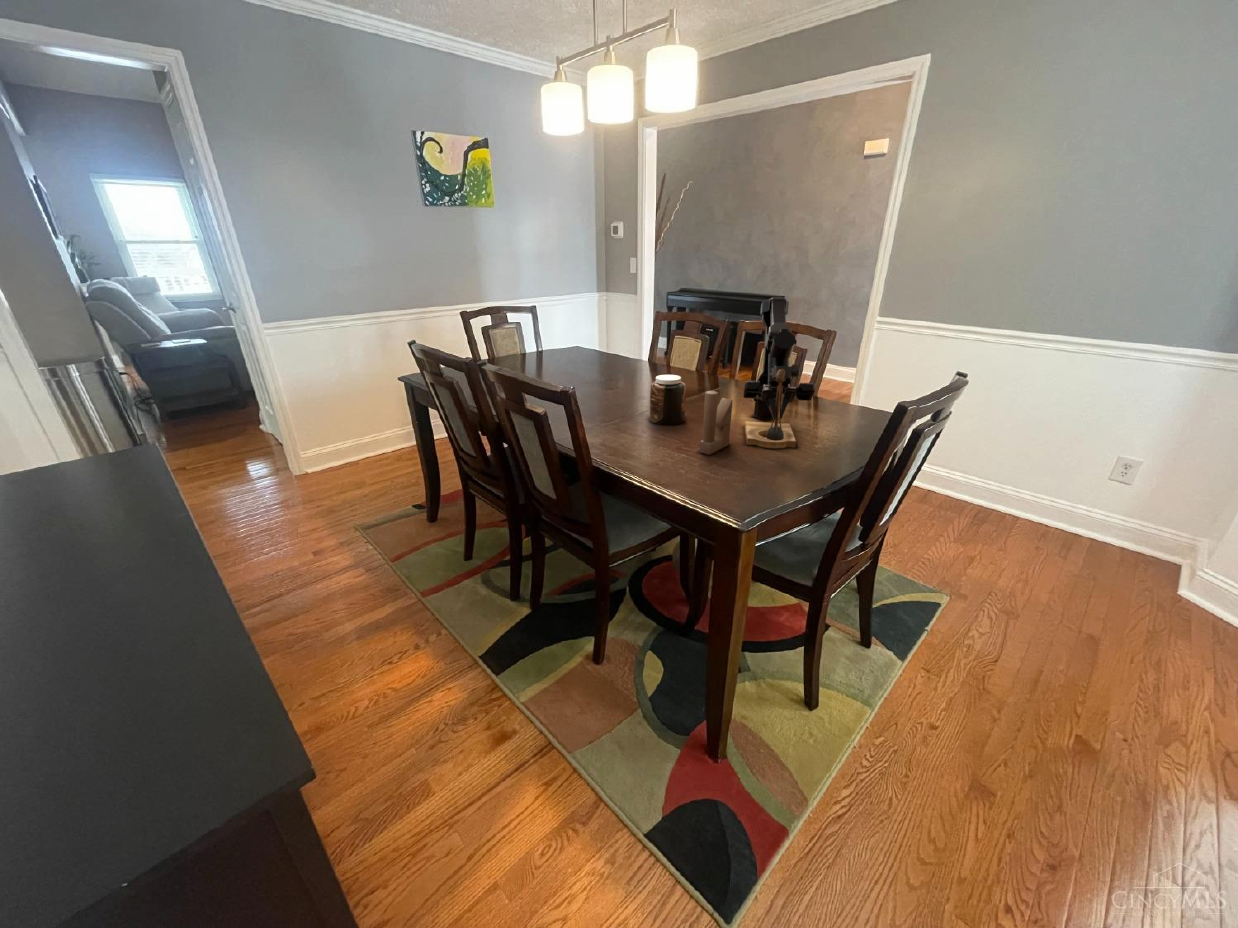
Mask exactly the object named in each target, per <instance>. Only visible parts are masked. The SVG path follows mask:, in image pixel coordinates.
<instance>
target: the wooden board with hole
mask: <svg viewBox="0 0 1238 928" xmlns="http://www.w3.org/2000/svg"><path fill="white" fill-rule="evenodd" d="M771 425H772V422H761V421H745V422H744V433H745V440H746V445H747V446H757V447H759V448H765V449H784V448H796V444H797V440H796V438H795V435H794V432H793V430H792V429H793V428H792V427H791V424H790V423H782V422H781V428H782V430H783V433H784V439H782V440H778V441H774V440H769V439H767V437H766V434H767V431H768V429H769V428H771ZM774 425H775V422H773V426H774ZM778 426H779V427H780V422H778Z"/></svg>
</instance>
